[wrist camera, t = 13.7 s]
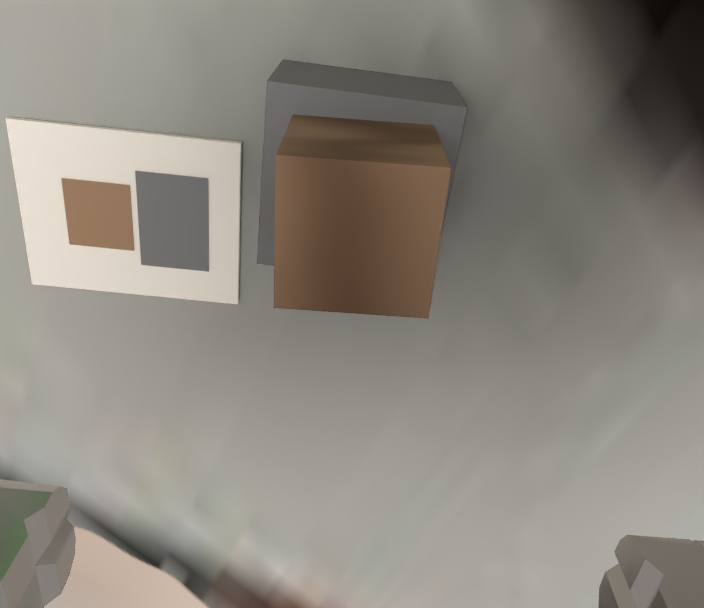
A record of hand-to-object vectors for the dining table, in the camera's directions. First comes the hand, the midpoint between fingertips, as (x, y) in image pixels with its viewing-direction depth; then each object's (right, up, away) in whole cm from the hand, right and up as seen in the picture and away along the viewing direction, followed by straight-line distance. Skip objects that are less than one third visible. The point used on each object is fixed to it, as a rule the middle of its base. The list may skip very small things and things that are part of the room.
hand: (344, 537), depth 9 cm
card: (-10, +8, +20) cm, 24 cm away
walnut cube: (0, +8, +14) cm, 16 cm away
